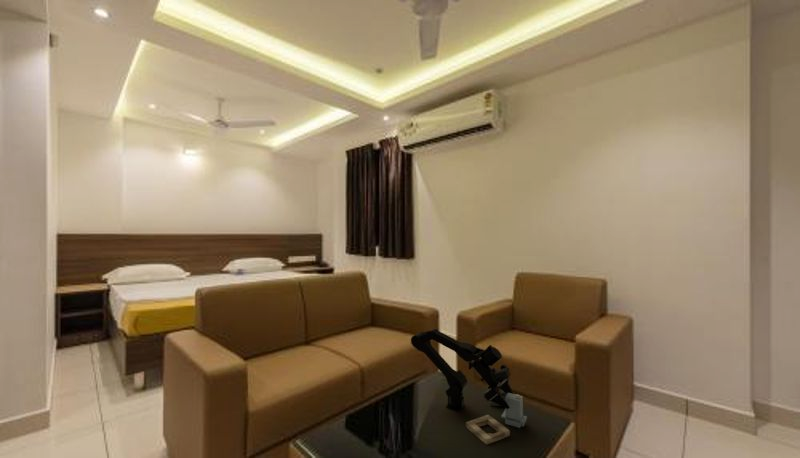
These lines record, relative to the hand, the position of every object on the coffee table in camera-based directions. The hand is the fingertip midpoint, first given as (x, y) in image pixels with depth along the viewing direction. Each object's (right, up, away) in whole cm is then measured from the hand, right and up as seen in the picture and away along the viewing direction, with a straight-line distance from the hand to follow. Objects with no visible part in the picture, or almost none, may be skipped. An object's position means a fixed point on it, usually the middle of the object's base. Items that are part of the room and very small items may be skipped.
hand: (511, 403), depth 145 cm
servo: (+1, -8, 0) cm, 8 cm away
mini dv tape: (-1, -8, +14) cm, 16 cm away
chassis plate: (-11, -9, -5) cm, 15 cm away
